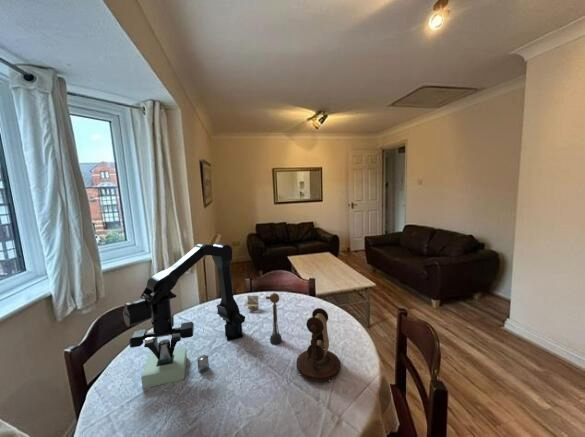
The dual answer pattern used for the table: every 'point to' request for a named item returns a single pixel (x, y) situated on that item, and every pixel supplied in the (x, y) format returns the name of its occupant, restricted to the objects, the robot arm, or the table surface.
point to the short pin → (203, 363)
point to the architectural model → (252, 302)
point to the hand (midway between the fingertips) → (165, 357)
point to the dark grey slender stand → (275, 320)
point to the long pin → (164, 352)
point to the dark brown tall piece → (318, 351)
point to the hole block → (164, 369)
